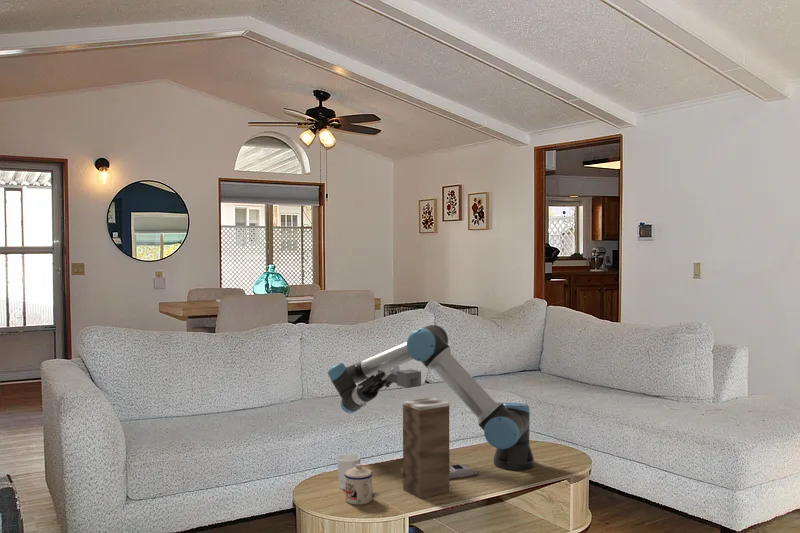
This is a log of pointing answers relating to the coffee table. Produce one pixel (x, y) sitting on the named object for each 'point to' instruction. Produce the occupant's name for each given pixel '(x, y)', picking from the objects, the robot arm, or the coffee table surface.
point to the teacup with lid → (358, 485)
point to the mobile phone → (460, 471)
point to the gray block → (405, 378)
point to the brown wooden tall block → (426, 447)
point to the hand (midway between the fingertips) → (394, 369)
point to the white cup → (346, 467)
